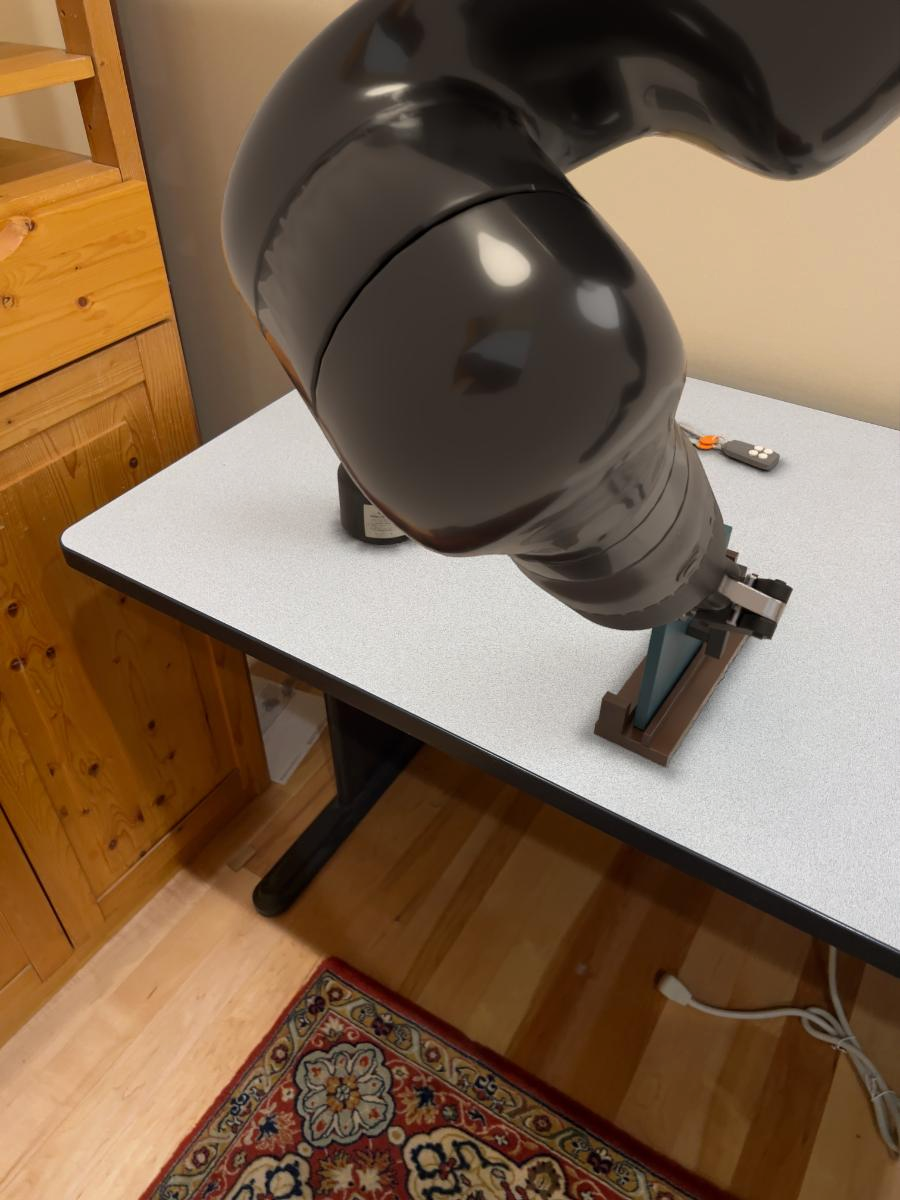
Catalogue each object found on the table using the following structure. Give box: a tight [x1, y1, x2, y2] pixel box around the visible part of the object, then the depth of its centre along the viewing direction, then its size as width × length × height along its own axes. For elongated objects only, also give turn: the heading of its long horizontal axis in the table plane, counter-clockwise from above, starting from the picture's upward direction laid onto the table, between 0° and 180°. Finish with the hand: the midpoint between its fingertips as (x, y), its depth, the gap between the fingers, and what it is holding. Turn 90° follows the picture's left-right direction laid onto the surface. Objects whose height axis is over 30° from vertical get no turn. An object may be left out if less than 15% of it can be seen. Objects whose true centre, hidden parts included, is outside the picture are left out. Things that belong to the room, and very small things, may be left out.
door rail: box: [593, 548, 760, 768], centre depth 74 cm, size 6×24×4 cm, turn 146°
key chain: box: [678, 423, 781, 471], centre depth 103 cm, size 13×4×2 cm, turn 50°
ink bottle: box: [336, 462, 411, 547], centre depth 87 cm, size 10×9×12 cm
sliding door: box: [633, 523, 748, 730], centre depth 66 cm, size 4×12×13 cm, turn 146°
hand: (679, 600), depth 49 cm, fingers closed
